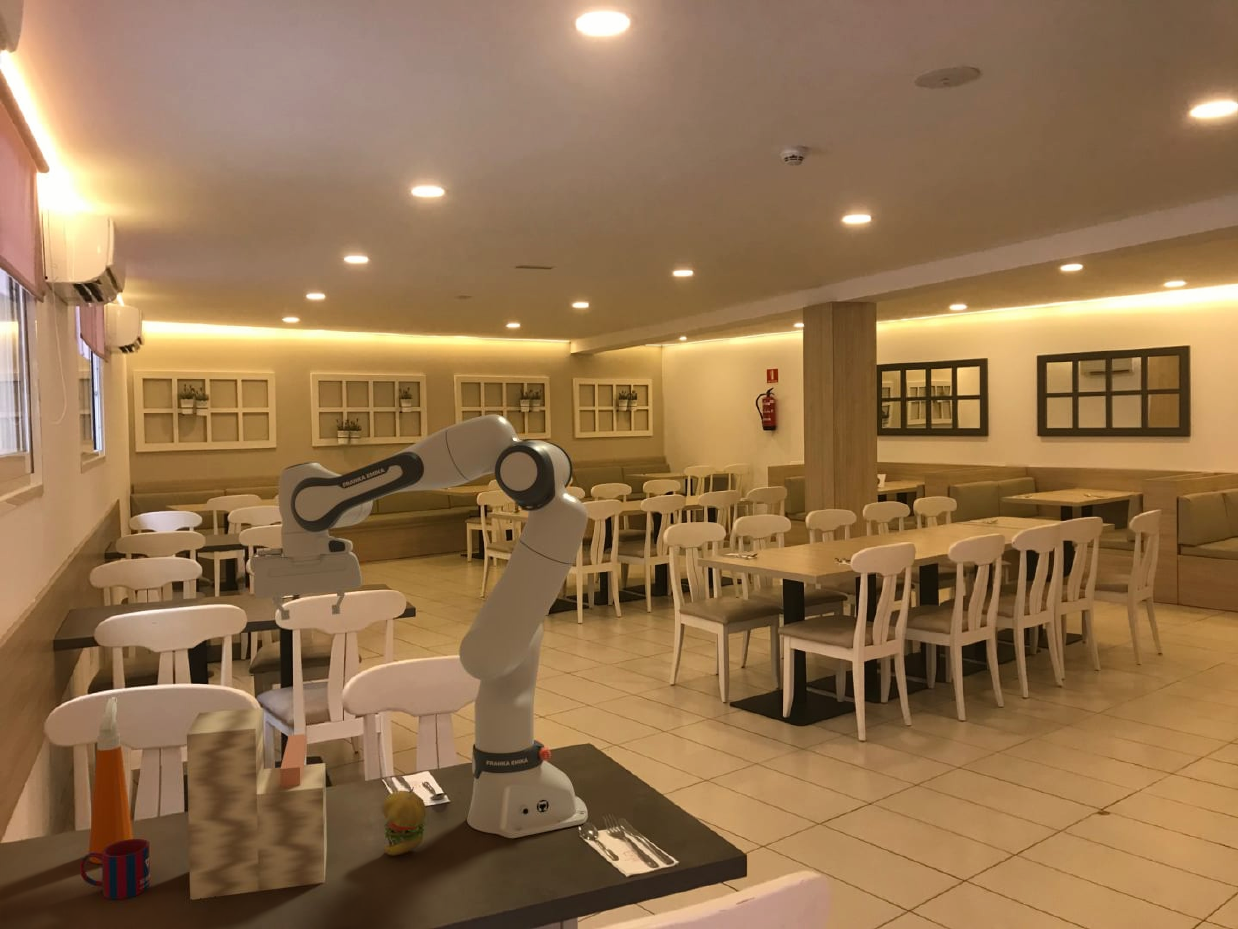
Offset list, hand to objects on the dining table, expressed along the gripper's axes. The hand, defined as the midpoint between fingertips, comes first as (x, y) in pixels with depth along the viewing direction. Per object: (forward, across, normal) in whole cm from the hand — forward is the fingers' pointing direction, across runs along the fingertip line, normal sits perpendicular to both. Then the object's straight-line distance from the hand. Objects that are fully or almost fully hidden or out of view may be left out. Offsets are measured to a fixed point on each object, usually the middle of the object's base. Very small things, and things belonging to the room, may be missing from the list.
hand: (311, 616), depth 184 cm
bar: (+23, -3, -23) cm, 32 cm away
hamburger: (+40, +14, -26) cm, 49 cm away
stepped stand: (+38, -9, -27) cm, 48 cm away
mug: (+37, -31, -26) cm, 55 cm away
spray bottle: (+36, -35, -10) cm, 51 cm away
